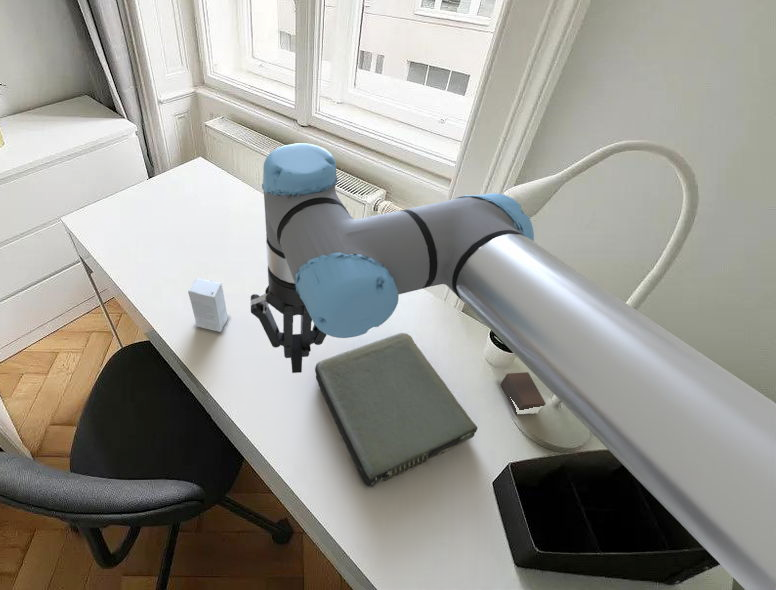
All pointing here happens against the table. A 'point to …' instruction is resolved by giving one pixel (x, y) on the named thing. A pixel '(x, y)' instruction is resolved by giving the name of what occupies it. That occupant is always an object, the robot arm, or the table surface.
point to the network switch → (391, 407)
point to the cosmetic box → (208, 304)
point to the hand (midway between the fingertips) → (296, 364)
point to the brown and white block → (522, 391)
